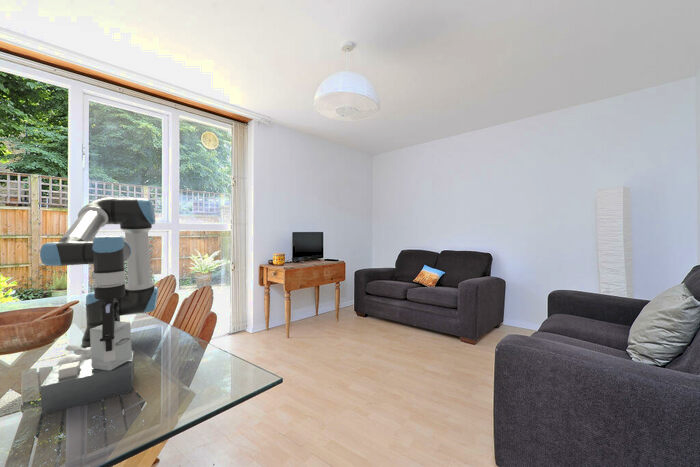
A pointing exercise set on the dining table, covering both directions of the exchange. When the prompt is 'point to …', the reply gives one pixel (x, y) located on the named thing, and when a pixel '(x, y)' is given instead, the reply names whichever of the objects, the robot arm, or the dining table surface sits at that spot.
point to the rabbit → (76, 354)
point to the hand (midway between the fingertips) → (112, 353)
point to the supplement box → (121, 346)
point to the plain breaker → (69, 369)
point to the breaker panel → (85, 386)
